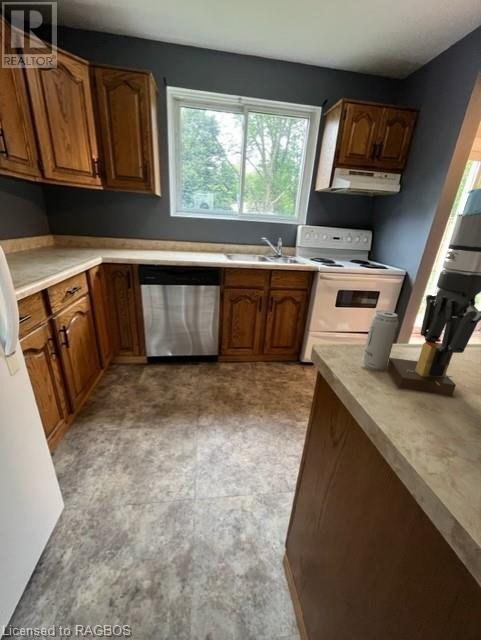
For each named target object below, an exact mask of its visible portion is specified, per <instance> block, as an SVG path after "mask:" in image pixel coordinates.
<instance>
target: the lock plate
mask: <svg viewBox="0 0 481 640" xmlns="http://www.w3.org/2000/svg"><path fill="white" fill-rule="evenodd" d="M417 363H418V361H417V360H411V359H402V358H395V357H389V360H388V364H387V367H386V369H387V370H388V372H389V374H390V376H391V377H392V379H393V380H394V382H395V384H396V385H397V387H398V389H400V390H406V391H413V392H420V393H426V394H435V395H441V396H448V397H452V396H453V394H454V392H455V389H456V387H457V384H456V383H455V382H454V381H453V380H452V379H451V378H454V377H453V376H452V375H447V373H446V374H445V377H422V376H421V375H419V374H418V373H417V372H416V371H415V370H416V366H417Z"/></svg>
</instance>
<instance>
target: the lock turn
mask: <svg viewBox="0 0 481 640" xmlns="http://www.w3.org/2000/svg"><path fill="white" fill-rule="evenodd" d="M441 345H442V342H436V343H430V342H426V341H425V342H423V344H422V346H421V347H422V348H421V350H420V353H419V357H418V363H417V366H416V370H415V371H416V372H417V373H418V374H419V375H421V376H422V377H445V374H446V375H447V371H448V368H449V366H450V364H451V360H452V357H453V354H454V353H453V354H452V356H451V359H450V361H449V364H448V365H446V367H445V370H444V373H443V375H442V376H430V375H429V372H430V369H431V366H432V363H433V360H434V357H435V354H436V351H437V349H438V348H441Z"/></svg>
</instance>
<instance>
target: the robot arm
mask: <svg viewBox="0 0 481 640" xmlns="http://www.w3.org/2000/svg"><path fill="white" fill-rule="evenodd" d="M456 216H457V217H456V220H455V223H454V227H453V230H452V234H451V237H450V241H449V244H448V247H447V252H446V255H445V258H444V261H443V264H442V268H443V270H442V271H440V274H439V277H438V278H437V279H438V280H437V282H436V287H437V288H438V291H437V292H436V294H427V295H426V297H425V302H426V303H425V304H426V305H425V309H424V315H423V320H422V325H421V328H420V336H422V337H424V341H425V342H430V343H442V345H441V348H438V349H437V351H436V354H435V357H434V360H433V363H432V366H431V369H430V372H429V375H430V376H442V375H443V373H444V370H445V367H446V365H448V364H449V365H450V363H449V361H450V362H451V360H452V357H453V355H452V354H462V353H464V352H465V349H466V347H467V345H468V344H469V341H470V339H471V338H472V335H473V334H474V332H475V330H476V328H477V325H478V324H479V322H480V321H481V310H479V309H478V308H477V307H476V306H475V305H476V297H477V296H478V295H479V294H481V187H480V188H474V189H471V190H469V191H468V192H466V194H465V195H464V197H463V200H462V202H461V205H460V207H459V210H458V212H457V214H456ZM443 331H444V333H443ZM442 333H443V336H442ZM441 336H442V339H440V338H441ZM451 356H452V357H451ZM450 359H451V360H450Z"/></svg>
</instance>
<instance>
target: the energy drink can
mask: <svg viewBox="0 0 481 640" xmlns="http://www.w3.org/2000/svg"><path fill="white" fill-rule="evenodd" d="M398 327H399V320H398V314H397V313H395V312H393V311H388V310H376V311H375V313H374V314H373V316H372V317H371V320H370V323H369V329H368V334H367V338H366V341H365V347H364V351H363V355H362V360H361V361H362V364H363V366H364V368H366V369H368V370H370V371H374V372H382V371H384V370H385V369H387V365H388V361H389V358H391V357H390V356H391V353H392V349H393V345H394V342H395V338H396V334H397V330H398Z"/></svg>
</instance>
